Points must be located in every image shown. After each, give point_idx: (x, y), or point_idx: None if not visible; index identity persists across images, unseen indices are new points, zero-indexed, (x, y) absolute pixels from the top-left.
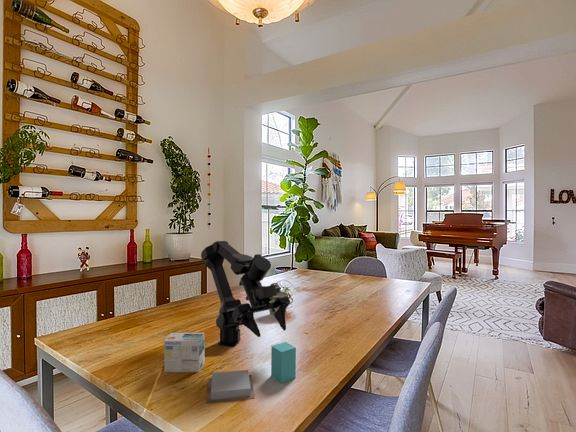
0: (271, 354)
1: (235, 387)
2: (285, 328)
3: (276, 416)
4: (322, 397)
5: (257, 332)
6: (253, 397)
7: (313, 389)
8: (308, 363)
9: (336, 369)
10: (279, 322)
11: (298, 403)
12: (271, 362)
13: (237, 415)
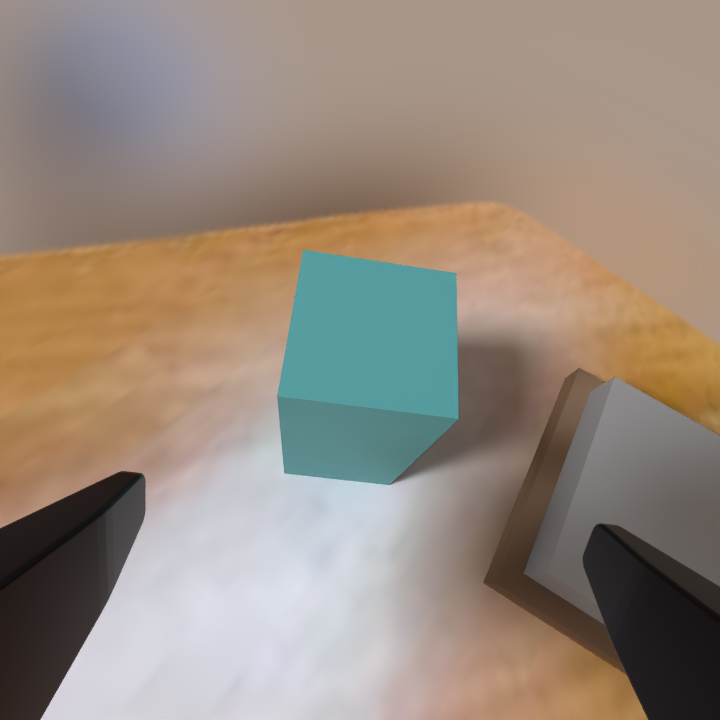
0: (432, 442)
1: (684, 438)
2: (131, 473)
3: (528, 266)
4: (305, 224)
5: (665, 561)
6: (582, 375)
7: (284, 279)
8: (36, 483)
9: (7, 310)
10: (29, 709)
11: (412, 261)
12: (416, 457)
13: (655, 363)
